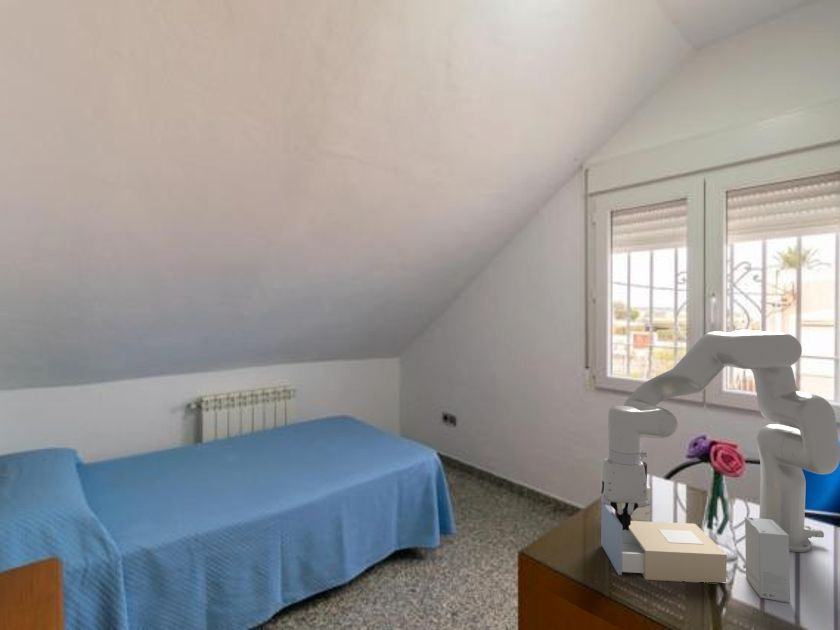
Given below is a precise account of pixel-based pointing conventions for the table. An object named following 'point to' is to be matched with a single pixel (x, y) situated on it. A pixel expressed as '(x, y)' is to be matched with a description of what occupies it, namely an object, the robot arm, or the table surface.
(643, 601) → the table surface
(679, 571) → the sleeve
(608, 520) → the tray
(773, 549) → the skincare box
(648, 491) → the ink cartridge box
